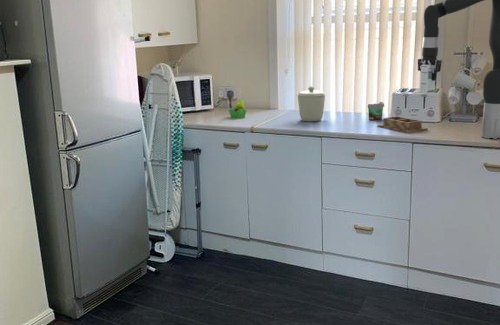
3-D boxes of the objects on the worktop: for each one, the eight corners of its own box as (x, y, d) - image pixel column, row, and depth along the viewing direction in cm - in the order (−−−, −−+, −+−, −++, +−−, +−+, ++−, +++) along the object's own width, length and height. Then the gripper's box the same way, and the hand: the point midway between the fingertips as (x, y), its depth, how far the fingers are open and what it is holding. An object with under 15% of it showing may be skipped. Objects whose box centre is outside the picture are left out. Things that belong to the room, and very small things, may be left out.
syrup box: (426, 94, 257) (428, 65, 254) (419, 92, 263) (421, 64, 259) (436, 93, 259) (437, 64, 255) (428, 92, 264) (430, 63, 261)
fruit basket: (228, 117, 338) (227, 100, 335) (238, 115, 343) (238, 99, 340) (237, 119, 329) (237, 102, 326) (248, 117, 334) (248, 100, 331)
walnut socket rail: (427, 130, 274) (428, 121, 273) (408, 133, 268) (408, 124, 266) (396, 123, 295) (396, 115, 293) (377, 126, 288) (377, 117, 287)
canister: (305, 124, 304) (305, 88, 298) (291, 119, 320) (291, 86, 315) (331, 121, 310) (331, 86, 305) (317, 117, 326) (316, 84, 321)
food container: (375, 121, 304) (376, 105, 301) (367, 120, 308) (367, 104, 306) (388, 118, 311) (388, 102, 309) (379, 117, 316) (380, 101, 313)
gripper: (447, 46, 250) (444, 80, 255) (424, 45, 263) (423, 78, 267) (436, 47, 247) (433, 81, 251) (414, 46, 259) (412, 79, 264)
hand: (428, 79), depth 259 cm, fingers closed on syrup box, 6 cm apart
